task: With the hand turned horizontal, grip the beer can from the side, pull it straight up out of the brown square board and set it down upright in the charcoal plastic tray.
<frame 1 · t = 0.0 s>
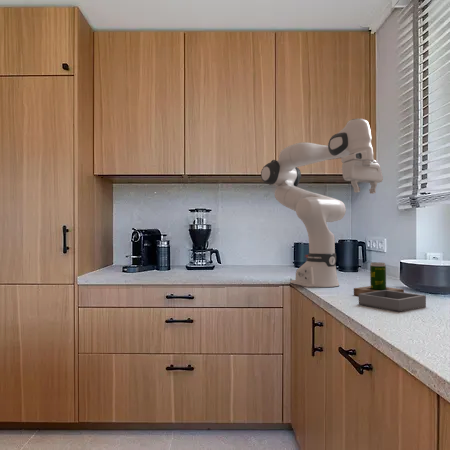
hand: (365, 192, 146), 39 cm above the counter, tool pointing down, fingers open, 8 cm apart
tray: (391, 305, 118), on the counter
brown square board: (378, 295, 137), on the counter
beer can: (378, 296, 137), resting in brown square board
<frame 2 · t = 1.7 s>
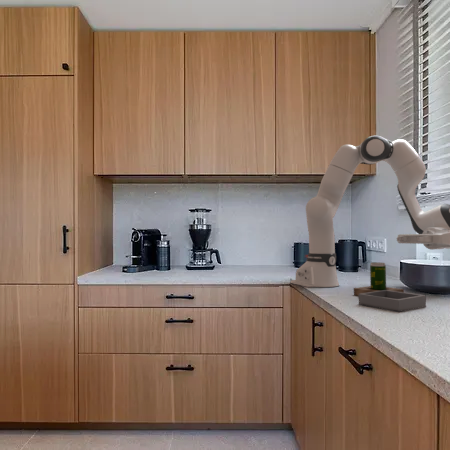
hand: (408, 239, 143), 20 cm above the counter, tool horizontal, fingers open, 8 cm apart
nothing on the counter moved.
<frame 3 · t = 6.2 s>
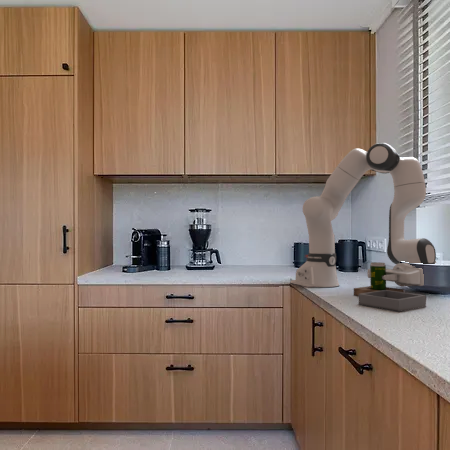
hand: (376, 276, 136), 7 cm above the counter, tool horizontal, fingers closed on beer can, 5 cm apart
beer can: (378, 296, 137), resting in brown square board, touching gripper
when the fingers open (10 cm above the counter, at t = 12.1 s): beer can stays where it is, resting on tray.
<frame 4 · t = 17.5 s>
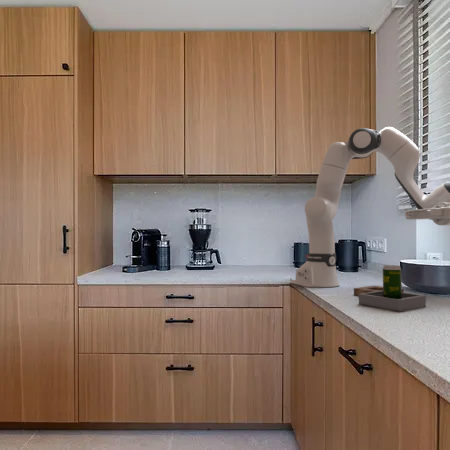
hand: (417, 213, 136), 30 cm above the counter, tool horizontal, fingers open, 8 cm apart
beer can: (392, 304, 118), resting on tray
at the end: beer can inside the target area on the tray (0.3 cm from its centre), point 0.4 cm above the tray's base; beer can tilted 0°; the gripper is holding nothing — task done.
